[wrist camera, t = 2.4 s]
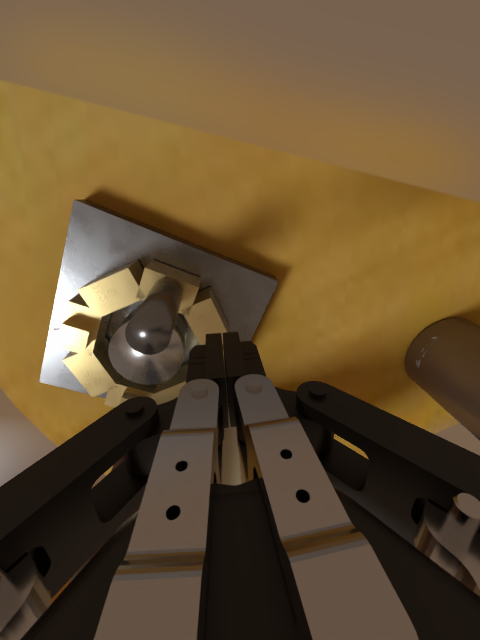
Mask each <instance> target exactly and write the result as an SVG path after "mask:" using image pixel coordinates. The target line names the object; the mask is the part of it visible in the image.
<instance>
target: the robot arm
mask: <svg viewBox="0 0 480 640" xmlns="http://www.w3.org/2000/svg"><path fill="white" fill-rule="evenodd" d="M223 349H224V356H223ZM224 364H225V366H224ZM405 366H406V371H407V373H408V375H409V376H410V378H411V379H412V380H413V381H414V382H415V383H416V384H418V385H419V386H420V387H421V388H422V389H423V390H424V391H425V392H426V393H428V394H429V395H430V396H431V397H432V398H433V399H434V400H435V401H436V402H437V403H438V404H440V405H441V406H442V407H443V408H444V409H445V410H446V411H447V412H448V413H450V414H451V415H452V416H453V417H454V418H455V419H456V420H457V421H458V422H460V423H461V424H462V425H463V426H464V427H465V428H466V429H467V430H469V431H470V432H471V433H472V434H473V435H474V436H475V437H476V438H477V439H478V440H480V326H479V325H477V324H475V323H472V322H470V321H468V320H466V319H461V318H450V319H446V320H442V321H439V322H437V323H435V324H433V325H431V326H429V327H428V328H426V329H425V330H424V331H423V332H422V333H420V334H419V335H418V336H417V338H416V339H415V340H414V341H413V343H412V344H411V346H410V348H409V350H408V352H407V355H406V361H405ZM226 386H227V391H226ZM227 396H228V407H229V417H230V427H236V430H237V444H238V449H239V454H240V459H241V463H242V468H243V473H244V477H245V483H242V484H240V485H226V484H222V478H223V440H224V428H229V422H228V407H227ZM334 434H336V435H338V436H340V437H341V438H343V439H345V440H346V441H348V442H350V443H351V444H353V445H355V446H357V447H358V448H360V449H361V450H362V451H364V452H365V454H366V455H367V456H368V458H369V460H368V459H367V458H365V457H363V456H362V455H360V454H358V453H357V452H355V451H353V450H352V449H350V448H348V447H347V446H345V445H343V444H342V443H340V442H338V441H337V440H335V439H333V438H334ZM123 456H124V461H123V462H122V463H121V464H119V465H118V466H117V467H116V468H115V469H114V470H113V471H111V472H110V473H109V474H108V475H107V476H106V477H105V478H104V479H102V480H101V481H100V482H99V483H98V484H97V485H96V486H94V487H93V488H92V486H93V484H94V483H95V481H96V480H97V479H98V478H99V477H100V476H101V475H102V474H103V473H105V472H106V471H107V470H108V469H109V468H110V467H111V466H113V465H114V464H115V463H116V462H117V461H118V460H120V459H121V458H122V457H123ZM333 487H334V488H333ZM91 488H92V489H91ZM140 503H141V505H140V509H139V510H138V511H137V512H136V513H134V514H133V515H132V516H130V517H129V518H128V519H127V520H126V521H125V522H124V523H123V524H122V522H123V521H124V520H125V519H126V518H127V517H128V516H129V515H130V514H131V513H132V512H133V511H134V510H135V508H136V507H137V506H138V505H139V504H140ZM121 524H122V525H121ZM120 525H121V526H120ZM119 526H120V527H119ZM118 527H119V528H118ZM117 528H118V529H117ZM116 529H117V530H116ZM115 530H116V531H115ZM114 531H115V532H114ZM113 532H114V534H113V535H112V536H111V537H110V538H109V536H110V535H111V534H112V533H113ZM108 538H109V539H108ZM107 539H108V540H107ZM106 540H107V541H106ZM105 541H106V543H105V544H104V545H103V546H102V547H101V548H100V549H99V551H98V552H97V553H96V554H95V555H94V556H93V557H92V559H91V560H90V561H89V562H88V563H87V564H86V565H85V566H84V568H83V569H82V570H81V571H80V572H79V573H78V574H77V576H76V577H75V578H74V579H73V580H72V581H71V582H70V583H69V585H68V586H67V587H66V588H65V589H64V590H63V592H62V593H61V594H60V595H59V596H58V597H57V598H56V599H55V601H54V602H53V603H52V604H51V605H50V603H51V599H52V598H53V596H55V595H56V593H57V592H58V591H59V590H60V589H61V588H62V587H63V586H64V585H65V584H66V582H68V581H69V579H70V578H71V577H72V576H73V575H74V574H75V573H76V572H77V571H78V570H79V569H80V568H81V567H82V565H83V564H84V563H85V562H86V561H87V560H88V559H89V558H90V557H91V556H92V555H93V554H94V553H95V552H96V550H97V549H98V548H99V547H100V546H101V545H102V544H103V543H104V542H105ZM0 640H480V456H479V455H477V454H475V453H473V452H470V451H468V450H466V449H464V448H462V447H460V446H458V445H456V444H454V443H451V442H449V441H447V440H445V439H443V438H441V437H439V436H437V435H434V434H432V433H430V432H428V431H426V430H424V429H422V428H420V427H418V426H415V425H413V424H411V423H409V422H407V421H405V420H403V419H401V418H398V417H396V416H394V415H392V414H390V413H388V412H386V411H384V410H381V409H379V408H377V407H375V406H373V405H371V404H369V403H367V402H364V401H362V400H360V399H358V398H356V397H354V396H352V395H350V394H347V393H345V392H343V391H341V390H339V389H337V388H335V387H333V386H330V385H328V384H326V383H323V382H318V381H310V382H305V383H303V384H301V385H300V386H299V387H298V388H297V392H294V391H287V390H282V389H279V388H276V387H274V385H273V383H272V381H271V380H270V379H269V378H267V377H266V374H265V371H264V368H263V365H262V362H261V359H260V356H259V353H258V350H257V346H256V345H254V344H253V343H252V342H251V341H243V342H240V338H239V334H238V332H225V333H223V346H222V336H221V333H213V334H206V343H205V345H195V346H194V347H193V348H192V349H191V350H190V352H189V360H188V368H187V377H186V384H185V385H183V386H182V388H181V389H180V392H179V395H178V397H177V398H175V399H173V400H171V401H168V402H166V403H162V404H159V405H157V403H156V401H155V400H154V399H152V398H149V397H135V398H131V399H128V400H126V401H124V402H123V403H121V404H120V405H118V406H117V407H115V408H114V409H112V410H111V411H109V412H108V413H107V414H105V415H104V416H102V417H101V418H99V419H98V420H96V421H95V422H94V423H92V424H91V425H89V426H88V427H86V428H85V429H83V430H82V431H81V432H79V433H78V434H76V435H75V436H73V437H72V438H70V439H69V440H67V441H66V442H65V443H63V444H62V445H60V446H59V447H57V448H56V449H54V450H53V451H52V452H50V453H49V454H47V455H46V456H44V457H43V458H42V459H40V460H39V461H37V462H36V463H34V464H33V465H31V466H30V467H29V468H27V469H26V470H24V471H23V472H21V473H20V474H18V475H17V476H15V477H14V478H13V479H11V480H10V481H8V482H7V483H5V484H4V485H2V486H1V487H0Z"/></svg>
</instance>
